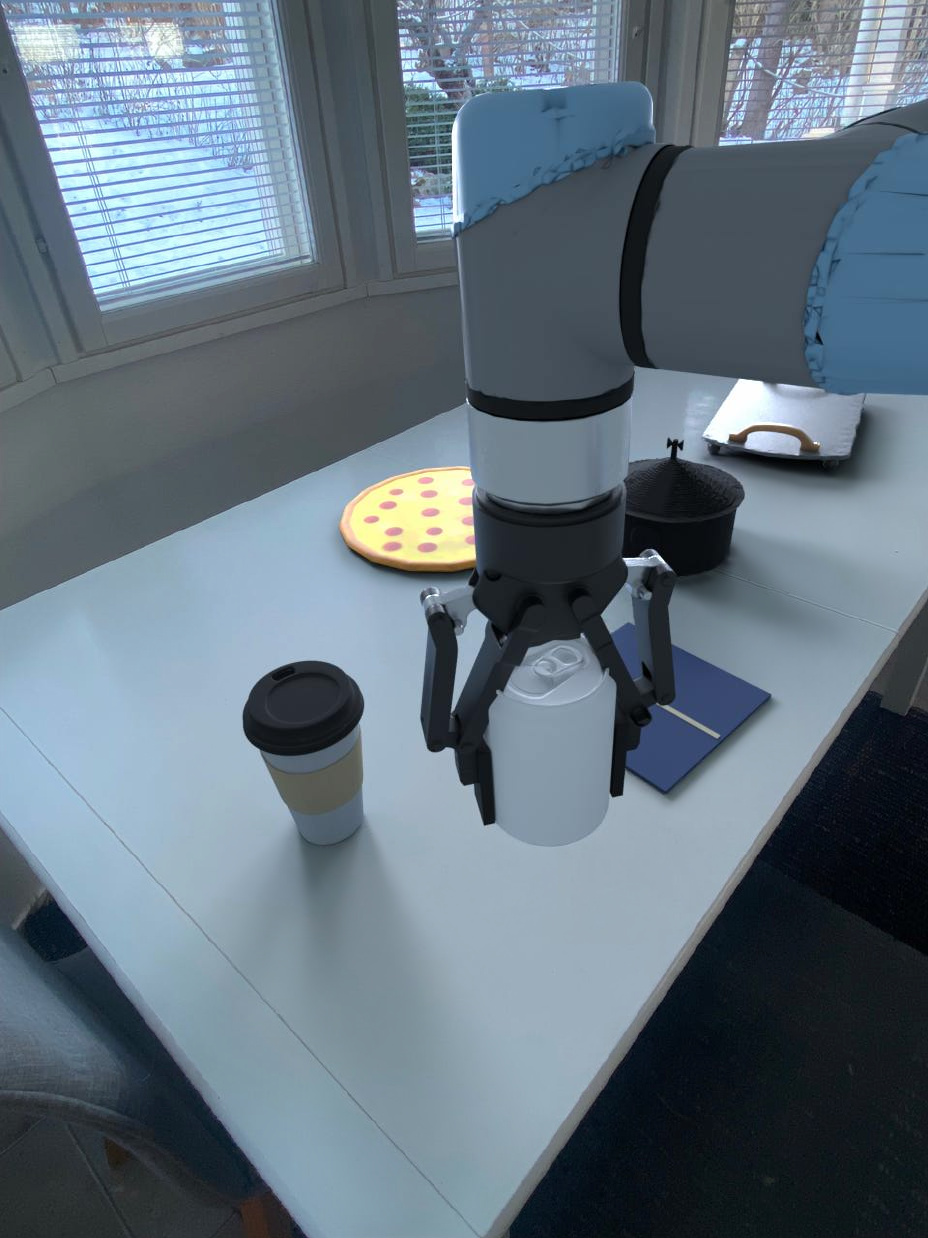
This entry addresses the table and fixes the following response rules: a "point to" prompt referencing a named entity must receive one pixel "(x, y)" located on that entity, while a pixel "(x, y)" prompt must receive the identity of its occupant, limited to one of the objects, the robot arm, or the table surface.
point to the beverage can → (553, 745)
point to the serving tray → (786, 422)
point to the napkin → (686, 714)
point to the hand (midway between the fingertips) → (548, 794)
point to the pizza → (415, 521)
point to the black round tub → (680, 512)
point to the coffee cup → (311, 745)
